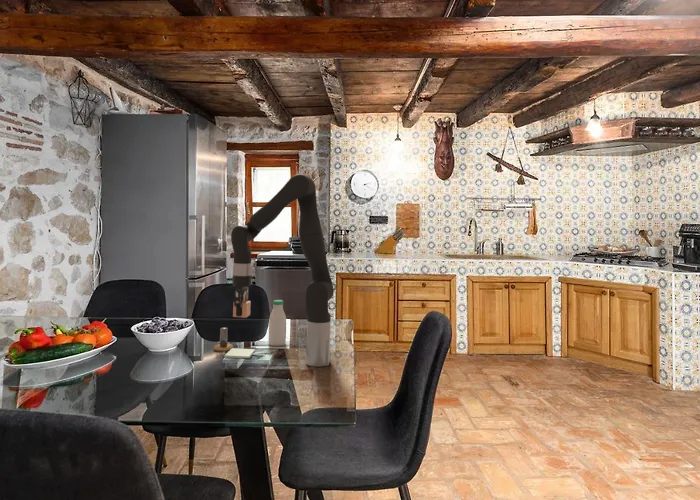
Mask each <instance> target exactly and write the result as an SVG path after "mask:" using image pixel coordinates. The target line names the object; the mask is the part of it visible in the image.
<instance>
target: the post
mask: <svg viewBox="0 0 700 500" xmlns="http://www.w3.org/2000/svg"><path fill="white" fill-rule="evenodd" d="M228 329H229V328H228V327H220V329H219V331H220V332H219V333H220V334H219V341H217V342H216V344H215V345H214V346H213V351H215V352H218V353H222V352H223V353H225V352H229V351H230V350H231V349H232V348H234V344H232V343H230V342H228Z"/></svg>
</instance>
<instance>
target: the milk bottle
mask: <svg viewBox="0 0 700 500" xmlns="http://www.w3.org/2000/svg"><path fill="white" fill-rule="evenodd" d="M272 306H273V308H272V311H271V313H270V315H269V321H268V345H269V346H272V347H280V346H284V345H286V342H287V341H286V340H287V317H286V313H285V311H284V300H283V299H275V300H273V301H272Z"/></svg>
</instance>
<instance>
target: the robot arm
mask: <svg viewBox="0 0 700 500" xmlns="http://www.w3.org/2000/svg"><path fill="white" fill-rule="evenodd" d="M294 201H297V203H298V208H299V223H298V224H299V225H298V226H299V227H298V237H299V242H300V247H301V250H302V253H303V255H304V257H305V260H306V262H307V263H308V266H309V269H310V272H311V278H312V279H311V280H312V282H310V283H309V284H308V285H307V287H306V290H305V315H306V316H307V317H306V318H307V319H306V321H307V322H306V349H305V363H306V365H307V366H310V367H315V368H316V367H319V368H320V367H329V365H330V359H331V358H330V356H331V354H330V353H331V318H332V317H331V316H332V315H331V312H329V301H330V300H331V299H332V298H333V296H334V292H335V291H334V290H335V289H334V284H333V281H332V277H331V273H330V271H329V267H328V260H327V253H326V248H325V241H324V235H323V230H322V226H321V225H322V224H321V220H320V216H319V212H318V203H317V189H316V184H315V182H314V180H313V179H312V178H311V177H309V176H307V175H306V174H305V175H304V174H301V173H299V174H295V175H293V176H292V177H290V178H289V179H288V181H287V182H286V183H285V184H284V185H283V187H282V188H281V189H280V190H279V191H278V192H277V193H276V194H275V195H274V196H273V197H272V198H271V199H270V200H268V202H267V203H265V204H264V205H262V207H260V208H259V209H258V210H257V211H255V212H254V213H253V214H252V215H251V216H250V217H249V221H248V222H246V223H245V224H244V225H236V226H234V227H233V229H232V230H231V233H230V237H231V238H230V240H231V246H232V250H233V265H232V286H234V287H236V290H235V291H234V292H233V303H234V306H236V316H242V303H243V302H244V301H249V294H250V288H249V287H251V285H252V251H251V250H250V248H249V247H248V243H249V242H251V241H253V240H254V239H256V237H257V236H258V235H259V234H260V233H261V231H263V229H265V228H267V227H268V226H269V225H270V224H271V223H272V222H273V221H274V220H276V219H277V217H279V215H280V214H281V213H282V211H283V210H284V209H286V207H287V206H288V205H290V204H291V203H293V202H294ZM238 302H239V303H238Z"/></svg>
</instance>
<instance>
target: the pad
mask: <svg viewBox="0 0 700 500" xmlns="http://www.w3.org/2000/svg"><path fill="white" fill-rule="evenodd" d="M255 352H256V348H239V347H238V348H237V347H233V348H232V349H231V350H230V351H227V353H225V354H224V358H231V359H232V358H233V359H234V358H235V359H250V358H251V356H252V355H253V354H254V353H255Z"/></svg>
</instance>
